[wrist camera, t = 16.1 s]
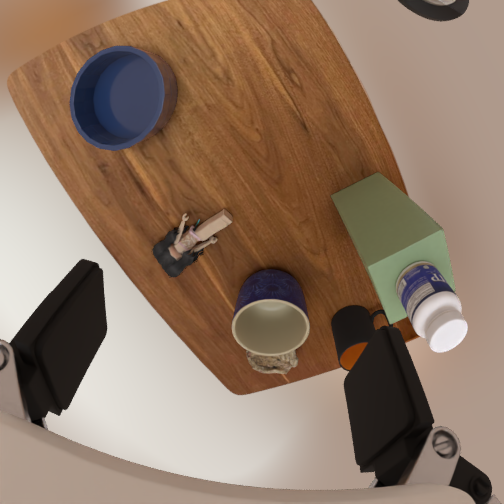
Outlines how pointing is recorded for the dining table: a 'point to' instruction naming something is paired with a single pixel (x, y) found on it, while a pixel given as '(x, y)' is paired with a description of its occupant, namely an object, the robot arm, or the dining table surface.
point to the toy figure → (188, 243)
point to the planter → (270, 314)
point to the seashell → (273, 362)
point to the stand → (390, 236)
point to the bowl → (122, 97)
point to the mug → (352, 333)
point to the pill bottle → (431, 306)
